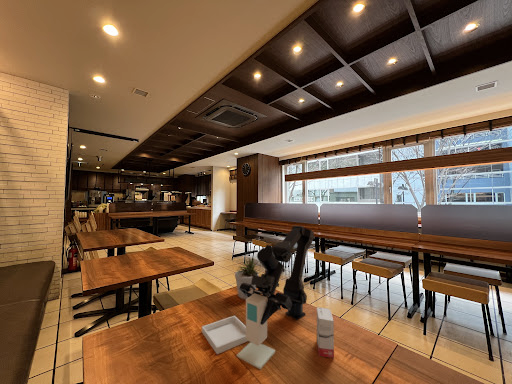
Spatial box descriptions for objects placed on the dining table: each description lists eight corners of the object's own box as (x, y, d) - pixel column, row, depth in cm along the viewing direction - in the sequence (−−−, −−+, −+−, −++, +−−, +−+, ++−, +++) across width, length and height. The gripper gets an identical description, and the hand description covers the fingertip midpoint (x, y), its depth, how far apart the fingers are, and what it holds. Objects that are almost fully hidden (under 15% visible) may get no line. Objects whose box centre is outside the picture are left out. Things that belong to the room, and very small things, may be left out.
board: (253, 342, 75) (253, 339, 75) (275, 353, 70) (275, 350, 70) (236, 358, 68) (236, 354, 68) (260, 371, 62) (260, 367, 63)
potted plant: (260, 301, 105) (261, 260, 106) (233, 301, 106) (233, 260, 106) (260, 291, 118) (260, 254, 119) (236, 290, 118) (236, 254, 119)
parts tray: (234, 321, 88) (234, 315, 88) (253, 340, 76) (253, 333, 76) (201, 333, 80) (201, 326, 80) (216, 355, 68) (217, 347, 69)
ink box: (334, 359, 68) (334, 321, 68) (318, 356, 69) (318, 319, 69) (330, 341, 76) (330, 307, 77) (316, 339, 77) (316, 306, 77)
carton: (254, 331, 73) (254, 293, 73) (267, 337, 70) (267, 297, 70) (245, 340, 68) (245, 299, 69) (258, 346, 65) (258, 303, 66)
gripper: (242, 260, 78) (220, 302, 69) (288, 269, 68) (270, 321, 58) (254, 275, 85) (236, 316, 75) (298, 286, 74) (283, 335, 65)
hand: (254, 321), depth 68 cm, fingers closed on carton, 5 cm apart
